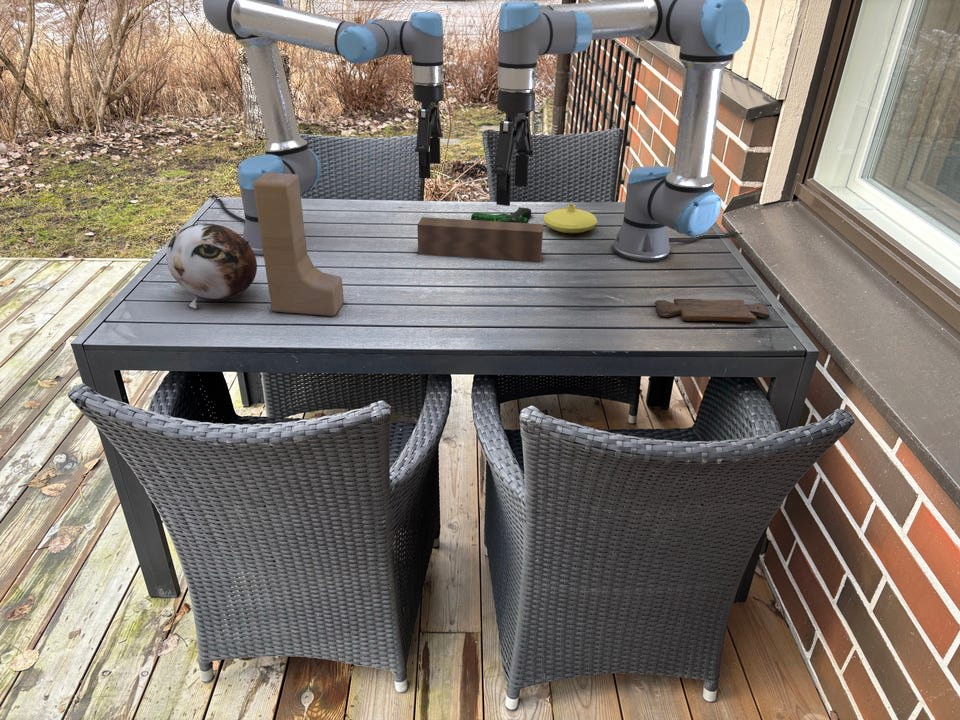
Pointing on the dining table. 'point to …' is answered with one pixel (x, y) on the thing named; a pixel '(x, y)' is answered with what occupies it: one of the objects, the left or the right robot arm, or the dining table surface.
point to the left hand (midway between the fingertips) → (430, 170)
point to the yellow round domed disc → (570, 220)
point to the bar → (480, 239)
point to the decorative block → (291, 251)
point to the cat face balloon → (211, 261)
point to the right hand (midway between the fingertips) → (512, 195)
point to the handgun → (505, 216)
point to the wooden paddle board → (712, 310)
